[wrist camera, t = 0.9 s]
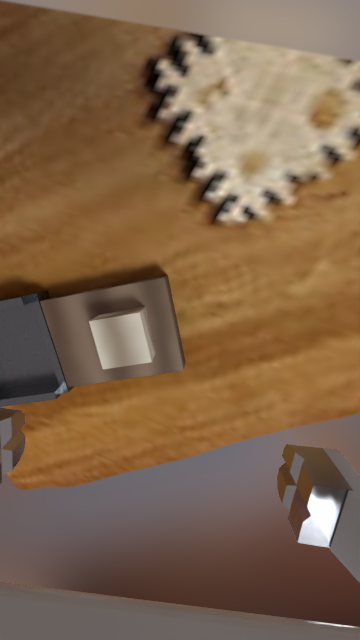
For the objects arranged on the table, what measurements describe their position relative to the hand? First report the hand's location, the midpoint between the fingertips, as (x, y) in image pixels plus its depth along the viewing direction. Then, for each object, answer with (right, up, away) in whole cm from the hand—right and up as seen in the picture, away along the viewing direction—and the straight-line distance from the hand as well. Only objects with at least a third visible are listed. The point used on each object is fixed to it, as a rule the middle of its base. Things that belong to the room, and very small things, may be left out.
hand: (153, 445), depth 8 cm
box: (-24, 0, +30) cm, 38 cm away
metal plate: (-7, +3, +28) cm, 29 cm away
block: (-6, +2, +25) cm, 26 cm away
